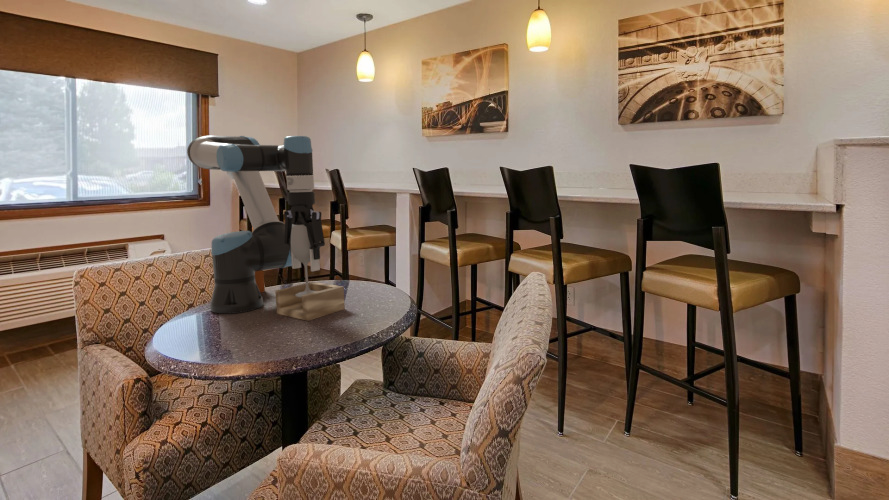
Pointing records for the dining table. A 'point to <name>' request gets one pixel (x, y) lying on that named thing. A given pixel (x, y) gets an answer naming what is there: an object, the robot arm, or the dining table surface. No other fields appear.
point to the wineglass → (301, 251)
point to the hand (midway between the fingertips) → (305, 269)
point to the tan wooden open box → (310, 301)
